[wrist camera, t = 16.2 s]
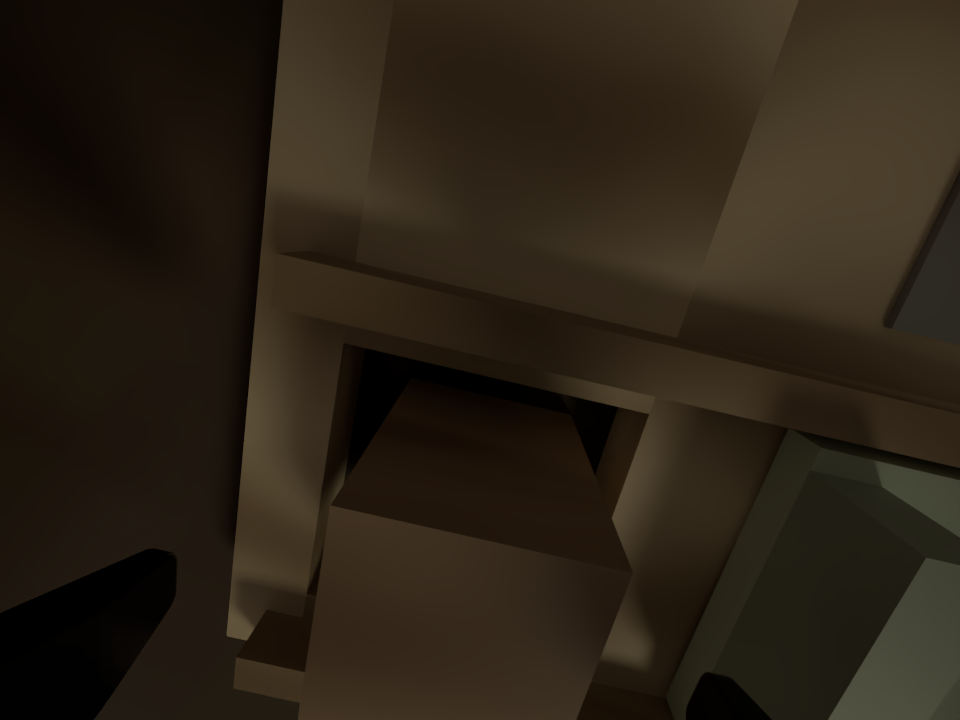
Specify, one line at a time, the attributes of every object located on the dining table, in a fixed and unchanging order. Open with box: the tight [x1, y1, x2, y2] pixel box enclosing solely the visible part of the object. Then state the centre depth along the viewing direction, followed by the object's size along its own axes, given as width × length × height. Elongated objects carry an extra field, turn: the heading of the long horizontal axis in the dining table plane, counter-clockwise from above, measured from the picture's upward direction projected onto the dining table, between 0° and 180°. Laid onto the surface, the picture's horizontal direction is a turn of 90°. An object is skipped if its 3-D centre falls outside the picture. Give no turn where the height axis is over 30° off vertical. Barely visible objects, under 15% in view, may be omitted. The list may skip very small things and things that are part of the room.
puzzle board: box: [227, 0, 960, 720], centre depth 10 cm, size 19×21×3 cm
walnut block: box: [298, 378, 633, 720], centre depth 10 cm, size 4×4×6 cm
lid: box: [666, 428, 960, 720], centre depth 9 cm, size 8×8×4 cm
